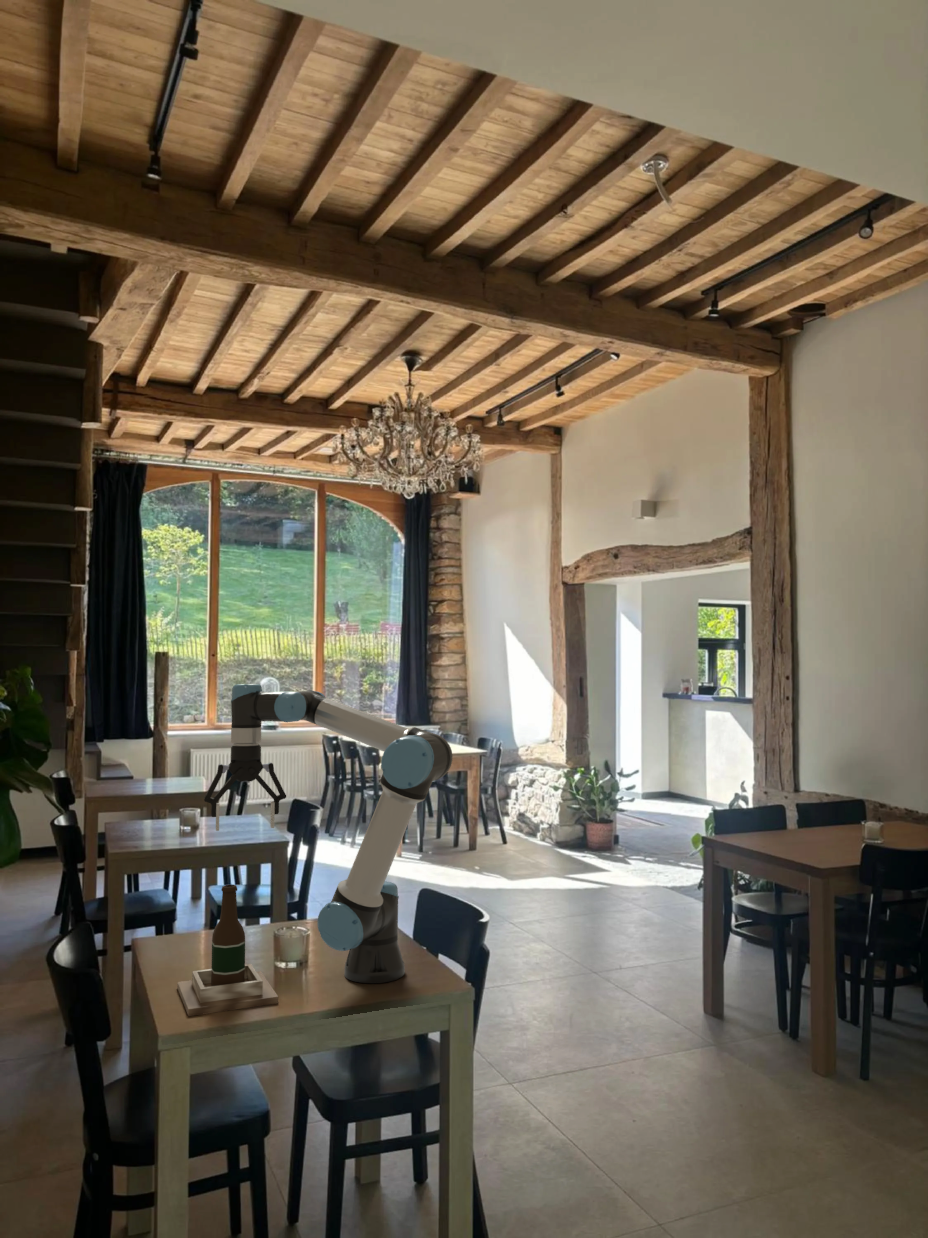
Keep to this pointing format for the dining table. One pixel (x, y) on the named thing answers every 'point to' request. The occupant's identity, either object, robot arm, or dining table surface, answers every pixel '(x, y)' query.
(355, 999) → the dining table surface
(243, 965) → the beer bottle
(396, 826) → the robot arm
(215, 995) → the rim board
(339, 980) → the dining table surface
